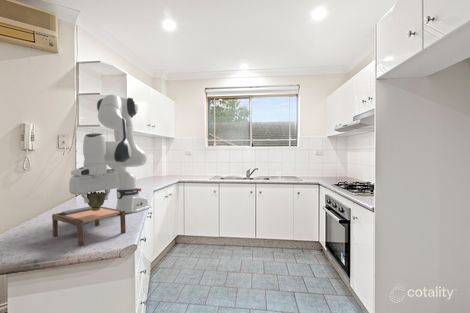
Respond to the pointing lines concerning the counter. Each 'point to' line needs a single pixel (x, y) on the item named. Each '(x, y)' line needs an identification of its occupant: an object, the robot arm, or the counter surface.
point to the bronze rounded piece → (96, 200)
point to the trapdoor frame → (79, 224)
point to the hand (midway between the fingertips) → (96, 201)
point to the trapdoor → (89, 214)
